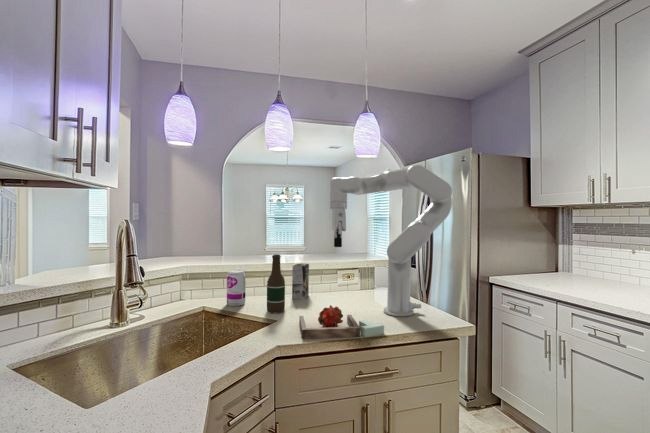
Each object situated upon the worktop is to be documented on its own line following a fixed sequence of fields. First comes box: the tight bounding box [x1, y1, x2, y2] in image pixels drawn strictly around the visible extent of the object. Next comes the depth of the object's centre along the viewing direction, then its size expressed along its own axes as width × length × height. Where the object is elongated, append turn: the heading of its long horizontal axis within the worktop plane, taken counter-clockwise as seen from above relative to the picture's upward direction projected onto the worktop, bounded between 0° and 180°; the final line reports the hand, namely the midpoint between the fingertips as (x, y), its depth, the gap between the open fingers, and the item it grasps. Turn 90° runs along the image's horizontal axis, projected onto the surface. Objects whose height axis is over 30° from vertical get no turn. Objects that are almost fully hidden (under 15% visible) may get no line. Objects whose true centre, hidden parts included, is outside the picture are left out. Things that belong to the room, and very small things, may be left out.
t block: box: [358, 319, 385, 338], centre depth 127 cm, size 8×8×3 cm
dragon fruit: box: [317, 305, 344, 328], centre depth 131 cm, size 8×8×12 cm
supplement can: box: [226, 269, 247, 307], centre depth 161 cm, size 8×8×15 cm
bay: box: [298, 314, 361, 340], centre depth 128 cm, size 20×16×3 cm
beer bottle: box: [266, 254, 286, 314], centre depth 151 cm, size 8×8×24 cm
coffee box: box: [291, 263, 310, 300], centre depth 176 cm, size 9×6×16 cm
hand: (337, 246), depth 157 cm, fingers closed
